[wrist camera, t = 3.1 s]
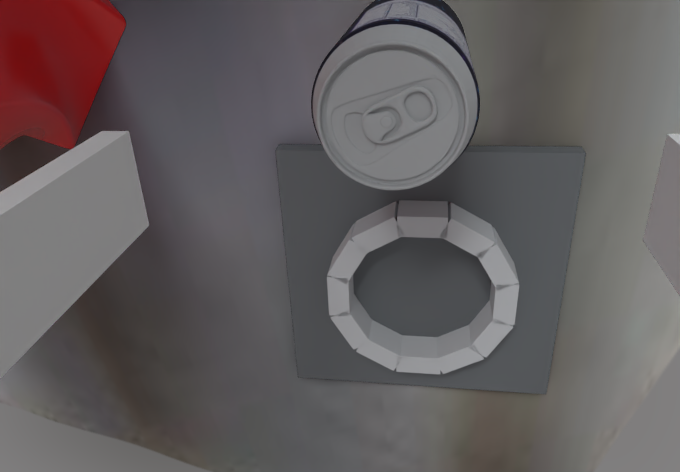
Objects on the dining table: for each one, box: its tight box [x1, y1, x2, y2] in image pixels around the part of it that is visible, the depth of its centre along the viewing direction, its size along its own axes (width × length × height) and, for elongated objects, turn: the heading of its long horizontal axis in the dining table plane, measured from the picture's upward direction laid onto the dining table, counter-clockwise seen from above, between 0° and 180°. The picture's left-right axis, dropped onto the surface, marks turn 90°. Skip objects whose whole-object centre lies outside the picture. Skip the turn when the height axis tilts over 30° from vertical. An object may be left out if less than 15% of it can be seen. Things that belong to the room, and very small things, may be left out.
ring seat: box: [275, 144, 586, 394], centre depth 34 cm, size 16×16×3 cm
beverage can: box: [311, 0, 480, 190], centre depth 24 cm, size 6×6×12 cm
